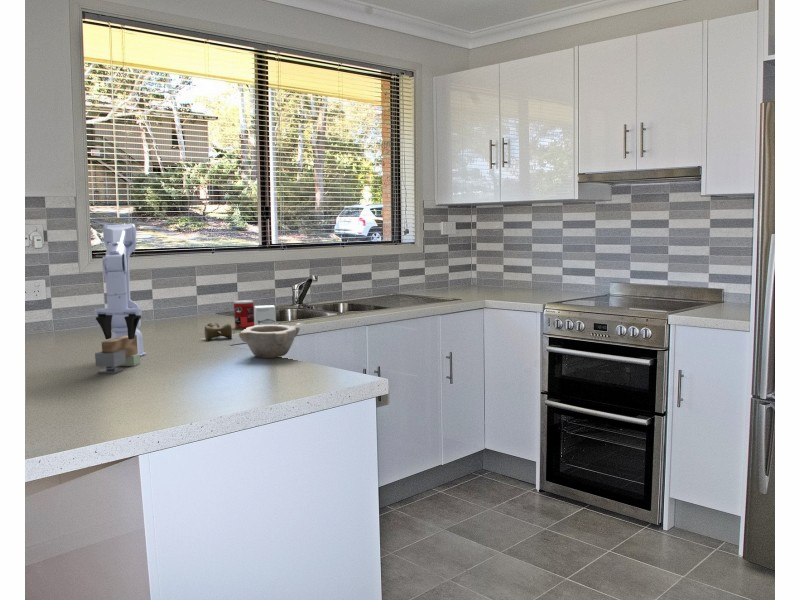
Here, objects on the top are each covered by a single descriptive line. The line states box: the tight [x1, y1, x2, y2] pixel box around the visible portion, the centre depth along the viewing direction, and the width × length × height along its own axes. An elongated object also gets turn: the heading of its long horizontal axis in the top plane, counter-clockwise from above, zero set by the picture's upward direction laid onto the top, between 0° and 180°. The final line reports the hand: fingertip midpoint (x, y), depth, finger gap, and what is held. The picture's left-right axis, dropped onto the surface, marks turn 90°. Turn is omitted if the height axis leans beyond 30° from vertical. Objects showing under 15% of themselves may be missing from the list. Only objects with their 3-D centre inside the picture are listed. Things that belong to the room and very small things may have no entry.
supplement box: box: [254, 304, 277, 326], centre depth 261 cm, size 7×7×13 cm
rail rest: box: [118, 354, 141, 367], centre depth 221 cm, size 4×5×3 cm
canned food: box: [233, 299, 255, 329], centre depth 295 cm, size 8×8×11 cm
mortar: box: [238, 324, 301, 359], centre depth 230 cm, size 17×17×9 cm
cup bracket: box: [94, 350, 126, 375], centre depth 211 cm, size 6×6×6 cm
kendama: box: [204, 321, 233, 341], centre depth 270 cm, size 6×10×20 cm
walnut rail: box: [101, 335, 138, 358], centre depth 216 cm, size 14×3×6 cm, turn 170°
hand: (119, 338), depth 216 cm, fingers open, 7 cm apart
